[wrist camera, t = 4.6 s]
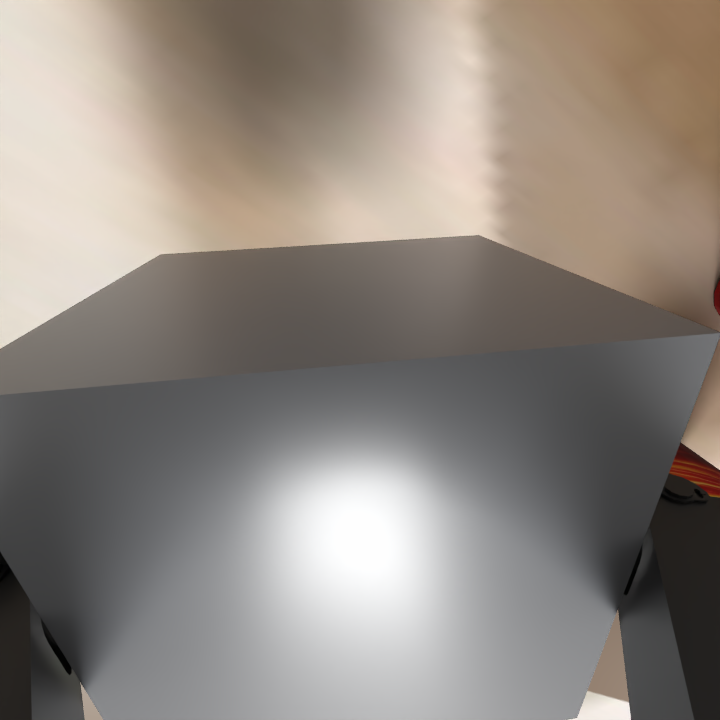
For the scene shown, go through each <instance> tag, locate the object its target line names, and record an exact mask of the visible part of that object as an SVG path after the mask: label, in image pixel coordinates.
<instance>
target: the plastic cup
mask: <svg viewBox="0 0 720 720" xmlns="http://www.w3.org/2000/svg"><path fill="white" fill-rule="evenodd" d="M714 306H715V308H716V310H717V312H718V314H719V315H720V280H719V282H718V285H717V287H716V290H715V293H714Z"/></svg>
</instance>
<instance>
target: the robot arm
mask: <svg viewBox="0 0 720 720" xmlns="http://www.w3.org/2000/svg"><path fill="white" fill-rule="evenodd" d="M618 611H619V620H620V628H621V637H622V645H623V654H624V662H625V671H626V679H627V688H628V696H629V705H630V713H631V720H720V497H712V496H709V494H708V493H707V492H706V491H705V490H703V489H702V488H701V487H699V486H698V485H697V484H695V483H693V482H691V481H689V480H687V479H685V478H683V477H680V476H676V475H673V474H670V473H669V474H668V477H667V479H666V482H665V485H664V487H663V490H662V493H661V495H660V498H659V501H658V503H657V506H656V509H655V511H654V514H653V517H652V519H651V522H650V525H649V527H648V530H647V533H646V535H645V538H644V541H643V543H642V546H641V549H640V551H639V554H638V557H637V559H636V562H635V565H634V567H633V570H632V573H631V575H630V578H629V581H628V583H627V586H626V589H625V591H624V594H623V597H622V599H621V602H620V605H619V607H618ZM0 720H84V711H83V702H82V693H81V685H80V681H79V679H78V677H77V676H76V674H75V672H74V671H73V669H72V668H71V666H70V664H69V663H68V661H67V659H66V658H65V656H64V655H63V653H62V651H61V650H60V648H59V646H58V645H57V643H56V641H55V640H54V638H53V637H52V635H51V633H50V632H49V630H48V628H47V627H46V625H45V624H44V622H43V620H42V619H41V617H40V615H39V614H38V612H37V611H36V609H35V607H34V606H33V604H32V602H31V601H30V599H29V597H28V596H27V594H26V593H25V591H24V589H23V588H22V586H21V584H20V583H19V581H18V580H17V578H16V576H15V575H14V573H13V571H12V570H11V568H10V567H9V565H8V563H7V562H6V560H5V558H4V557H3V555H2V553H1V552H0Z"/></svg>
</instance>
